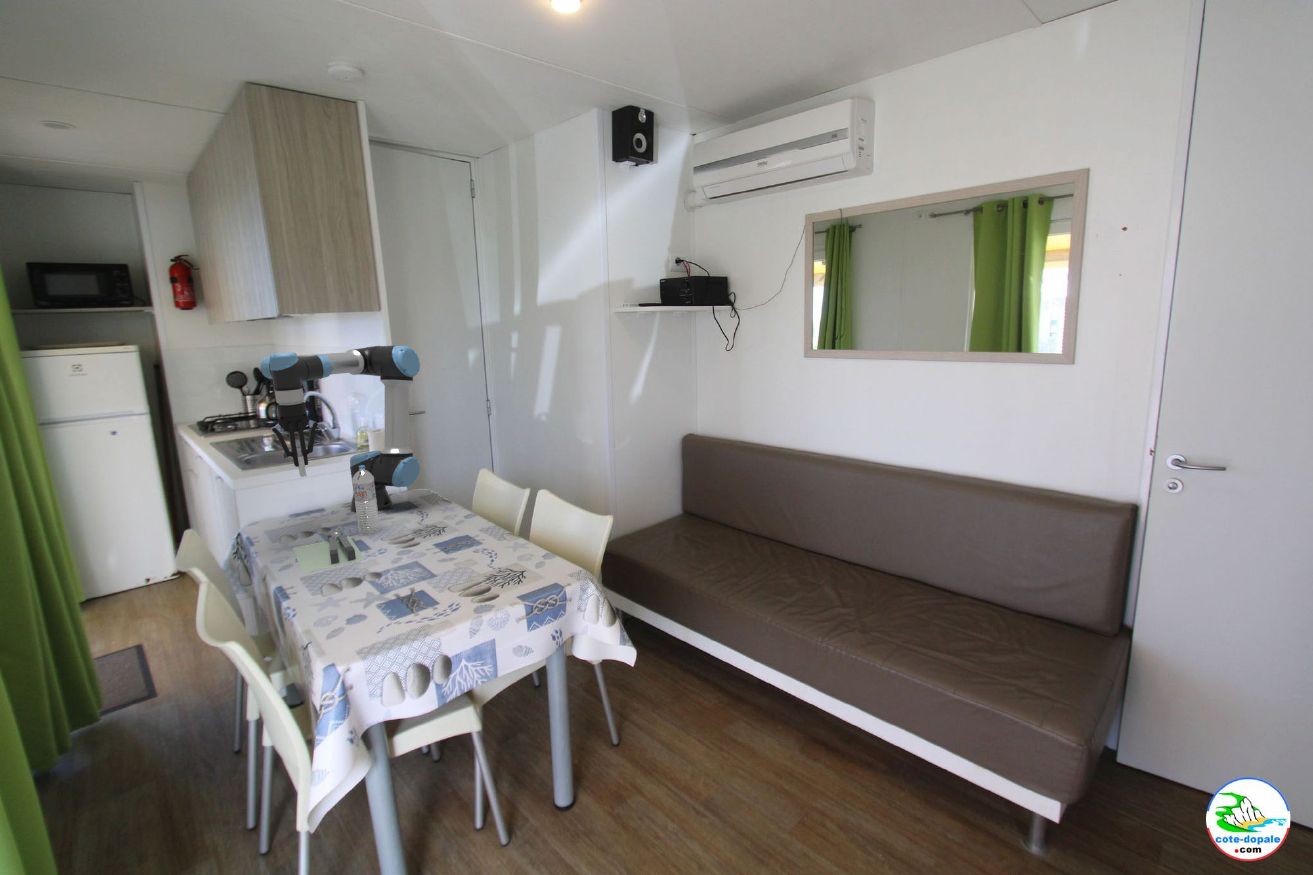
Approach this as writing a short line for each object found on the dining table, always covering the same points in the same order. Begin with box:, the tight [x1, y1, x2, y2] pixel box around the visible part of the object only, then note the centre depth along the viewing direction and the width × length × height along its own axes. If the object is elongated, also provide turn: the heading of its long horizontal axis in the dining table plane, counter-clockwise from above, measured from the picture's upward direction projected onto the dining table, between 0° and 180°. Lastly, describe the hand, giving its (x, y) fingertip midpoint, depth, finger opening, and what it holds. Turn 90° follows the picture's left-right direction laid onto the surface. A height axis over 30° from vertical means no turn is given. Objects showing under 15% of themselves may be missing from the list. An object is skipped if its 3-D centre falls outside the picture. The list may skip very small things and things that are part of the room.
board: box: [292, 535, 366, 574], centre depth 195 cm, size 17×26×1 cm, turn 36°
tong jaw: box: [329, 537, 339, 564], centre depth 194 cm, size 2×17×3 cm, turn 29°
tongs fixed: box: [326, 529, 356, 560], centre depth 197 cm, size 5×24×4 cm, turn 36°
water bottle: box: [351, 465, 381, 536], centre depth 212 cm, size 7×7×25 cm
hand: (303, 475), depth 195 cm, fingers closed
